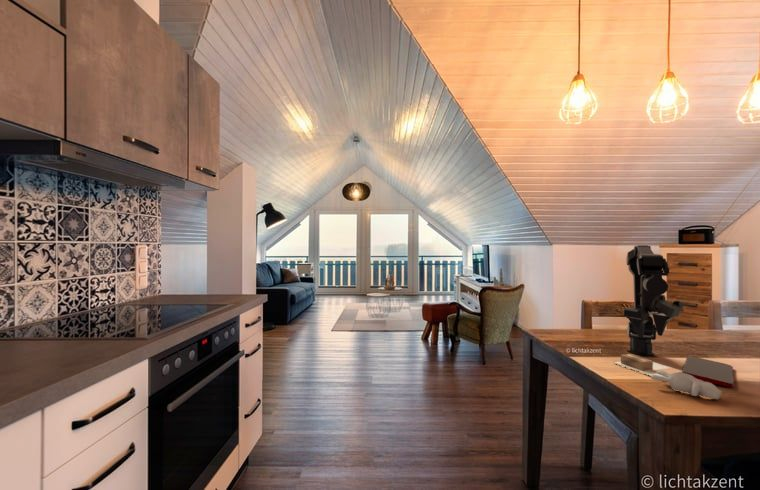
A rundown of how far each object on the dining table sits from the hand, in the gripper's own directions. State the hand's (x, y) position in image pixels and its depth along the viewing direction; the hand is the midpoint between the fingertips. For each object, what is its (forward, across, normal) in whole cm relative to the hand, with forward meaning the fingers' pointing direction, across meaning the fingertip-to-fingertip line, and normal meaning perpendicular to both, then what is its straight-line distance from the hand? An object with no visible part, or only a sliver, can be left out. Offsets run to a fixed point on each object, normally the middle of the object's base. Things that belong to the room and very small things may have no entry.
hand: (650, 336), depth 123 cm
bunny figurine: (+12, -9, -16) cm, 22 cm away
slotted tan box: (+11, -3, +3) cm, 12 cm away
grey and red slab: (+11, +15, -8) cm, 20 cm away
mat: (+12, 0, 0) cm, 12 cm away
